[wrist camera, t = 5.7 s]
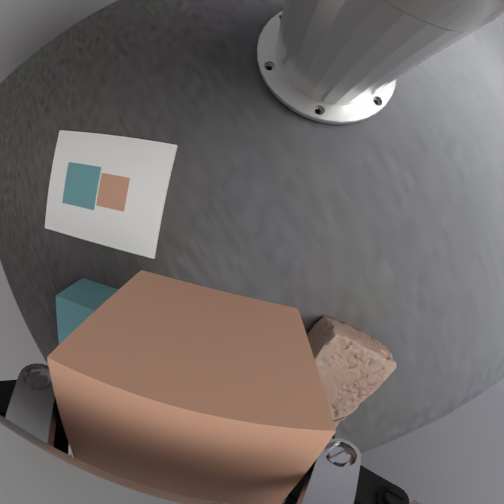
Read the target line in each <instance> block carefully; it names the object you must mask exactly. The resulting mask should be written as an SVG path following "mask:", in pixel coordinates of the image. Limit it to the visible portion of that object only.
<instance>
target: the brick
mask: <svg viewBox="0 0 504 504" xmlns="http://www.w3.org/2000/svg"><path fill="white" fill-rule="evenodd" d="M307 337H308V340H309V344H310V347H311V350H312V353H313V356H314V359H315V363H316V366H317V369H318V372H319V375H320V379H321V382H322V385H323V388H324V392H325V395H326V398H327V401H328V405H329V408H330V411H331V415H332V418H333V422H334V425H335V428H336V427H337V425H338V424H339V421H342V420H343V419H345V417H346V416H347V415H349V414H351V413H352V412H353V411H355V410H356V408H357V407H358V406H359V403H361V402H362V401H363V400H365V399H366V398H367V397H368V396H369V395H371V394H372V393H373V392H374V391H375V390H376V389H377V388H379V386H380V385H381V384H382V383H383V382H384V381H385V380H386V379H387V378H388V377H389V375H390V374H391V373H392V372H393V371H394V370H395V368H396V366H397V365H396V362H395V361H394V360H393V359H392V354H391V353H390V351H388V349H387V348H386V347H385V346H384V345H383V344H382V343H380V342H379V341H378V340H376V339H374V338H372V337H370V336H368V335H366V334H365V333H363V332H360V331H357V330H355V329H354V328H352V327H351V326H349V325H348V324H343V323H340V322H338V321H337V320H336V319H331V318H329V317H326V316H324V317H323V318H321V319H320V320H319V321H318V322H317V323H316V324H315V325H314V326H313V328H312V329H311V331H310V332H309V333H308V334H307Z"/></svg>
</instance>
